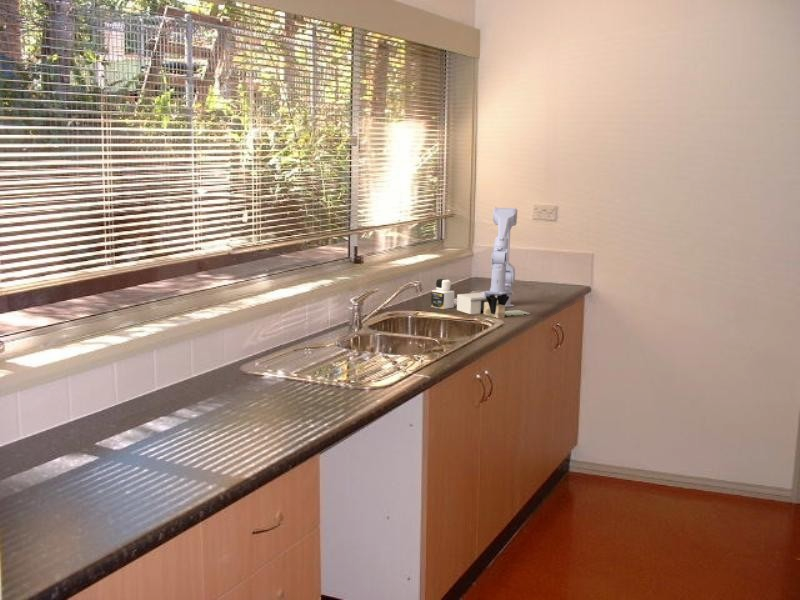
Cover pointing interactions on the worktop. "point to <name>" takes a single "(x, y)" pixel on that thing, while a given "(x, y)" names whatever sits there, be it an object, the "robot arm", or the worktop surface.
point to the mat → (515, 312)
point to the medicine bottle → (442, 295)
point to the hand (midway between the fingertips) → (496, 313)
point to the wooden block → (498, 313)
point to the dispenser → (471, 303)
